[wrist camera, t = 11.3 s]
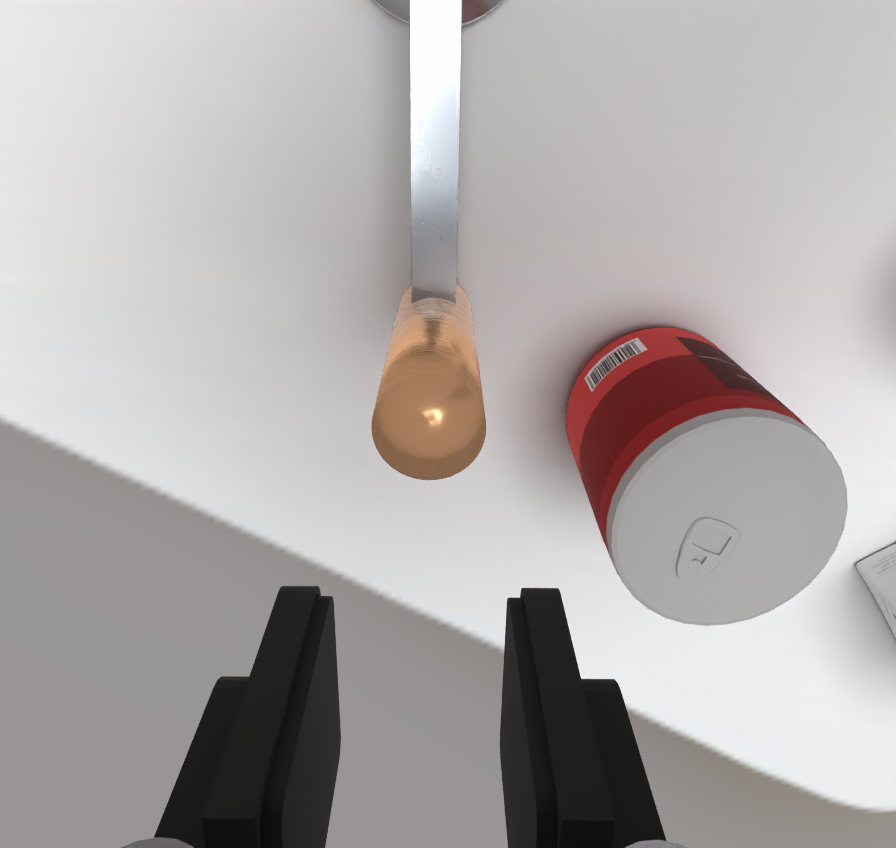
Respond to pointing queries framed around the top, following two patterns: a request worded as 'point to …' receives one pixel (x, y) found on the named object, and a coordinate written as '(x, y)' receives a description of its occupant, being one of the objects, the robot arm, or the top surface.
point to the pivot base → (474, 7)
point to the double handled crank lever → (432, 277)
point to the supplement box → (882, 581)
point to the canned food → (701, 479)
